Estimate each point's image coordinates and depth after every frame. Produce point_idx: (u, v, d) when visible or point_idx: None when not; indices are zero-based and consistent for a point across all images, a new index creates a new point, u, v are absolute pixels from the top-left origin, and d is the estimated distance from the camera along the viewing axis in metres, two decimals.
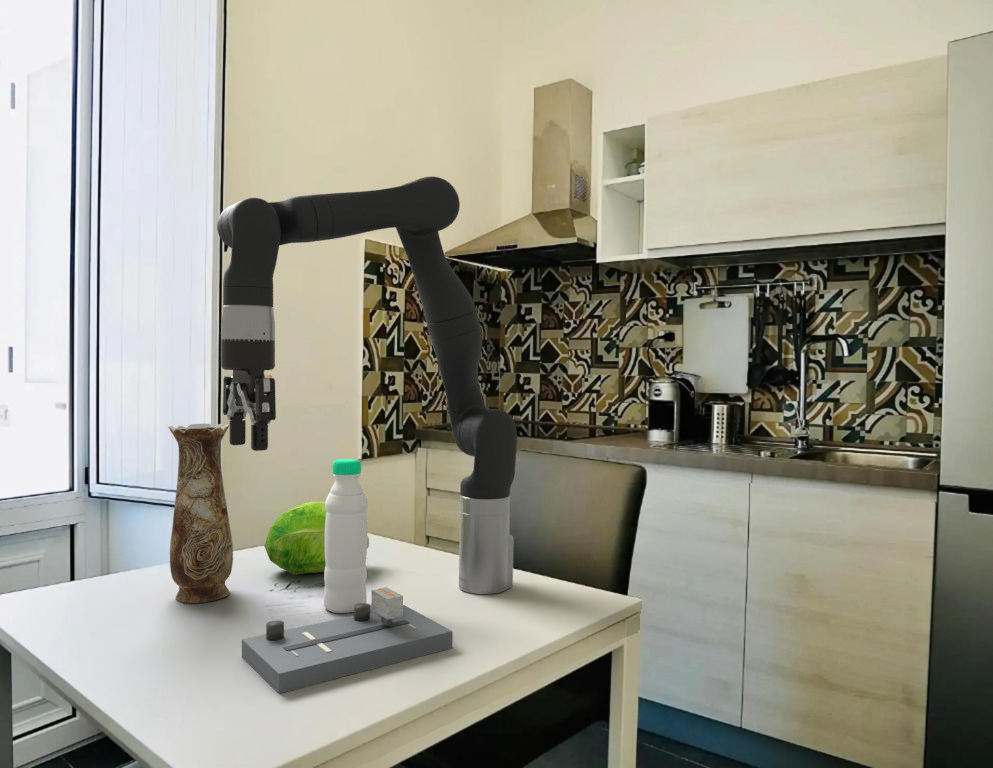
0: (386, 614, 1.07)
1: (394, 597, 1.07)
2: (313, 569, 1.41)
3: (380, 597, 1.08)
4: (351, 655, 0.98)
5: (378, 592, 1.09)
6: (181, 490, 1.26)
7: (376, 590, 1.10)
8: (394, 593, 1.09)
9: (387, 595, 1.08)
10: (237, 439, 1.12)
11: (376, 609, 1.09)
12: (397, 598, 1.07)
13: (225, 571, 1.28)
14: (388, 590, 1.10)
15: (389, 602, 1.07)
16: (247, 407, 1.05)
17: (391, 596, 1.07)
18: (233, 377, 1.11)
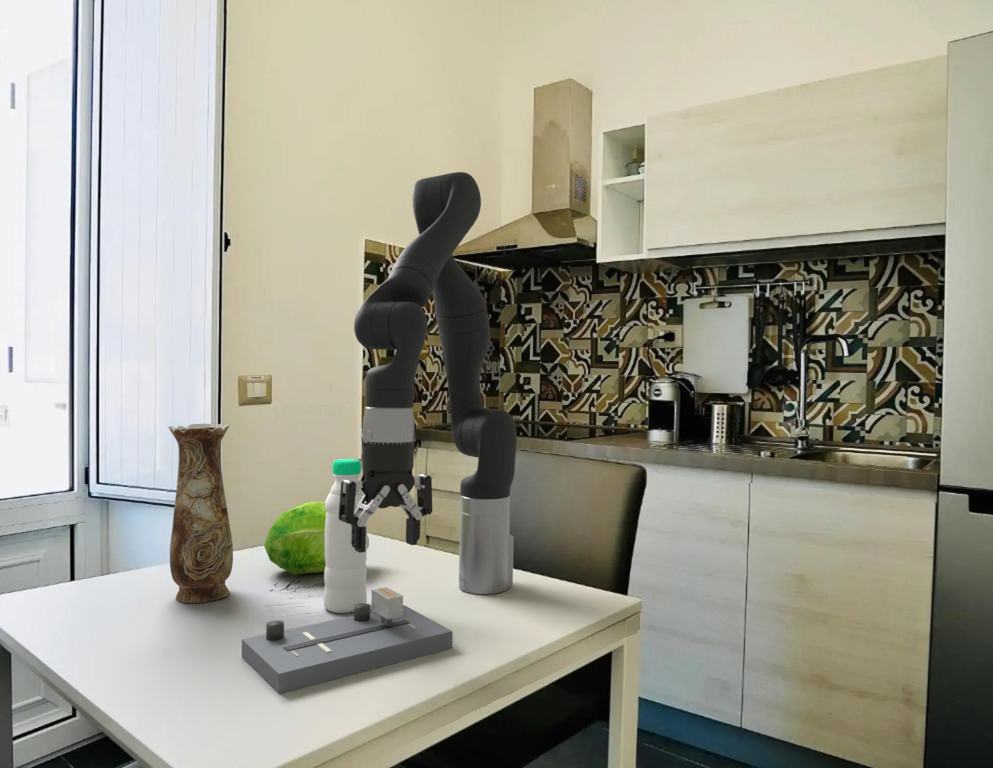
0: (386, 614, 1.07)
1: (394, 597, 1.07)
2: (313, 569, 1.41)
3: (380, 597, 1.08)
4: (351, 655, 0.98)
5: (378, 592, 1.09)
6: (181, 490, 1.26)
7: (376, 590, 1.10)
8: (394, 593, 1.09)
9: (387, 595, 1.08)
10: None
11: (376, 609, 1.09)
12: (397, 598, 1.07)
13: (225, 571, 1.28)
14: (388, 590, 1.10)
15: (389, 602, 1.07)
16: (414, 505, 1.10)
17: (391, 596, 1.07)
18: (372, 480, 1.06)
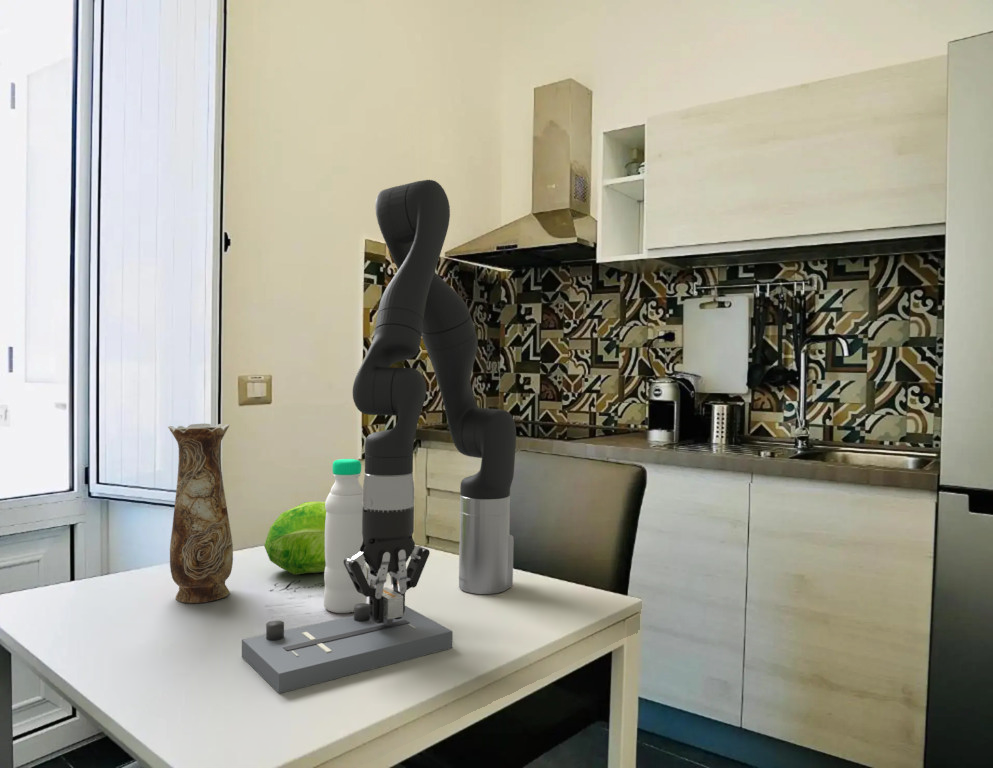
0: (386, 614, 1.07)
1: (394, 597, 1.07)
2: (313, 569, 1.41)
3: None
4: (351, 655, 0.98)
5: None
6: (181, 490, 1.26)
7: None
8: (394, 593, 1.09)
9: (387, 595, 1.08)
10: None
11: None
12: (397, 598, 1.07)
13: (225, 571, 1.28)
14: (388, 590, 1.10)
15: (390, 602, 1.07)
16: (405, 577, 1.09)
17: (391, 596, 1.07)
18: (371, 548, 1.06)
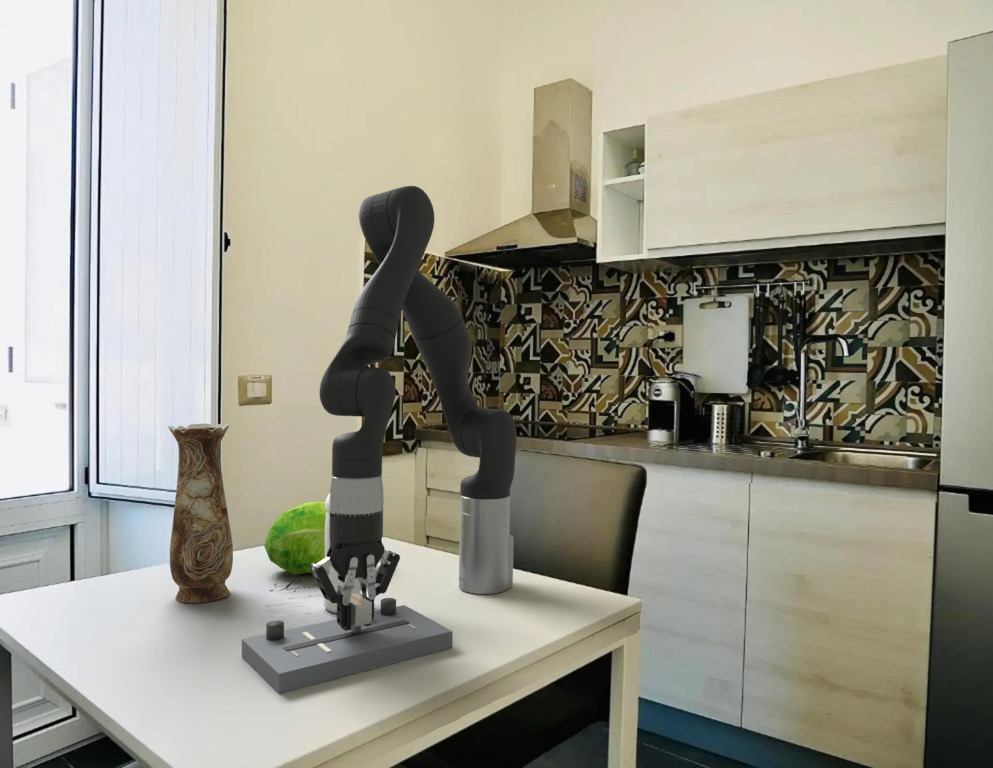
0: (354, 621, 1.04)
1: (362, 603, 1.04)
2: None
3: None
4: (351, 655, 0.98)
5: None
6: (181, 490, 1.26)
7: None
8: (363, 599, 1.06)
9: (355, 601, 1.05)
10: None
11: None
12: (366, 605, 1.04)
13: (225, 571, 1.28)
14: (357, 596, 1.07)
15: (357, 609, 1.04)
16: (374, 582, 1.06)
17: (359, 602, 1.04)
18: (338, 553, 1.03)
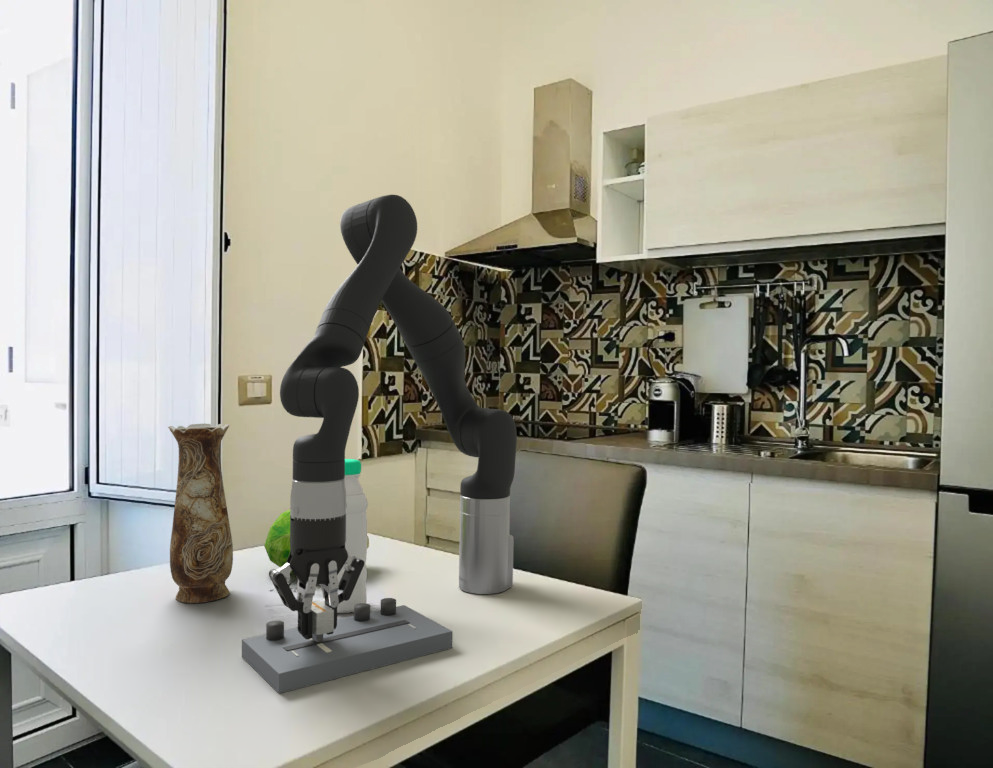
0: (315, 629, 1.00)
1: (324, 611, 1.01)
2: None
3: None
4: (351, 655, 0.98)
5: None
6: (181, 490, 1.26)
7: None
8: (325, 607, 1.02)
9: (317, 609, 1.01)
10: None
11: None
12: (327, 613, 1.01)
13: (225, 571, 1.28)
14: (319, 603, 1.04)
15: (318, 617, 1.00)
16: (336, 589, 1.02)
17: (321, 610, 1.01)
18: (298, 559, 0.99)
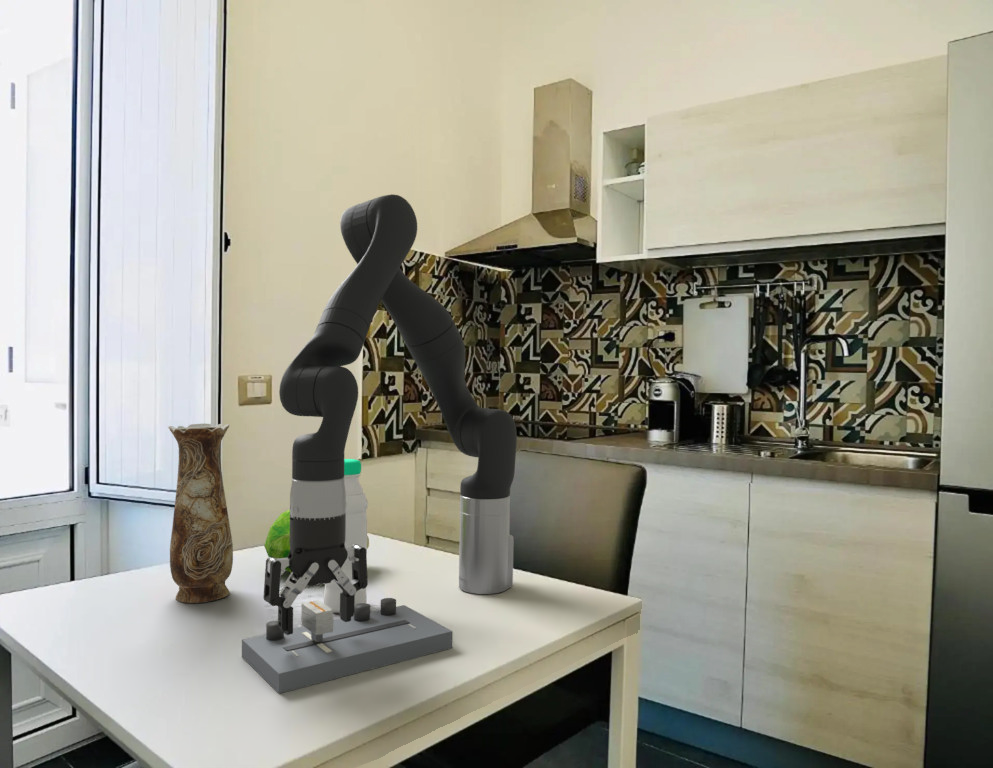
0: (314, 629, 1.00)
1: (323, 611, 1.01)
2: None
3: (309, 611, 1.01)
4: (351, 655, 0.98)
5: (307, 606, 1.03)
6: (181, 490, 1.26)
7: (306, 603, 1.04)
8: (325, 607, 1.02)
9: (316, 609, 1.01)
10: None
11: (305, 624, 1.03)
12: (327, 613, 1.01)
13: (225, 571, 1.28)
14: (319, 603, 1.04)
15: (318, 617, 1.00)
16: (347, 580, 1.03)
17: (320, 610, 1.01)
18: (300, 557, 1.00)
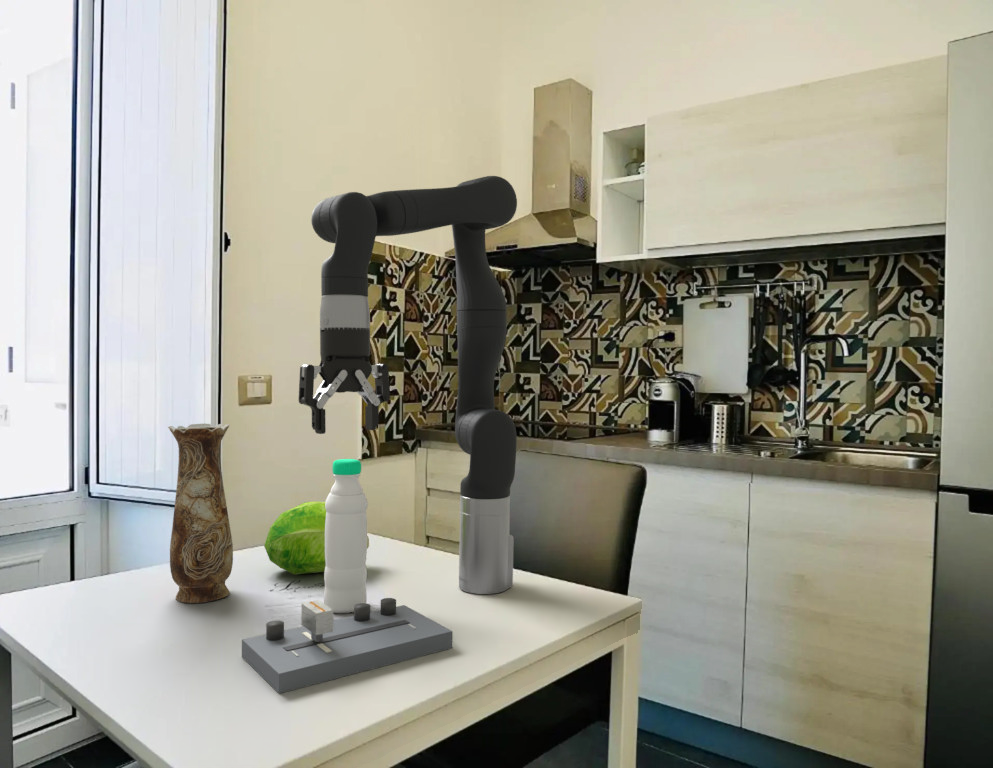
0: (314, 629, 1.00)
1: (323, 611, 1.01)
2: (313, 569, 1.41)
3: (309, 611, 1.01)
4: (351, 655, 0.98)
5: (307, 606, 1.03)
6: (181, 490, 1.26)
7: (306, 603, 1.04)
8: (325, 607, 1.02)
9: (316, 609, 1.01)
10: None
11: (305, 624, 1.03)
12: (327, 613, 1.01)
13: (225, 571, 1.28)
14: (319, 603, 1.04)
15: (318, 617, 1.00)
16: (372, 391, 1.15)
17: (320, 610, 1.01)
18: (330, 365, 1.11)
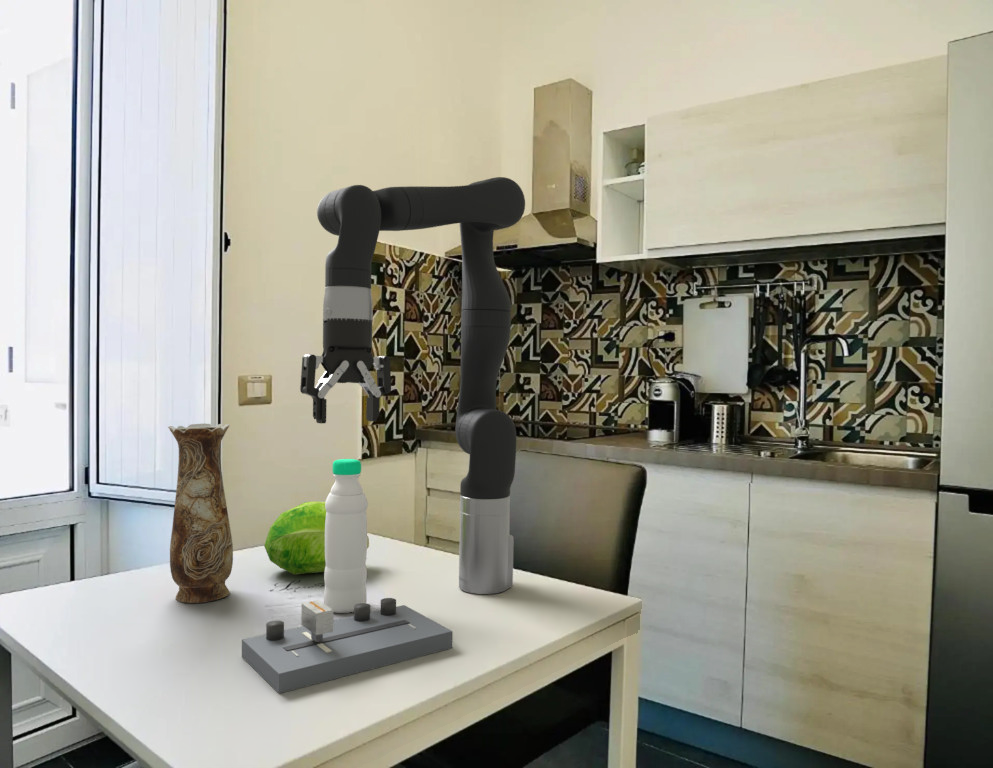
0: (314, 629, 1.00)
1: (323, 611, 1.01)
2: (313, 569, 1.41)
3: (309, 611, 1.01)
4: (351, 655, 0.98)
5: (307, 606, 1.03)
6: (181, 490, 1.26)
7: (306, 603, 1.04)
8: (325, 607, 1.02)
9: (316, 609, 1.01)
10: None
11: (305, 624, 1.03)
12: (327, 613, 1.01)
13: (225, 571, 1.28)
14: (319, 603, 1.04)
15: (318, 617, 1.00)
16: (373, 382, 1.16)
17: (320, 610, 1.01)
18: (332, 355, 1.12)
